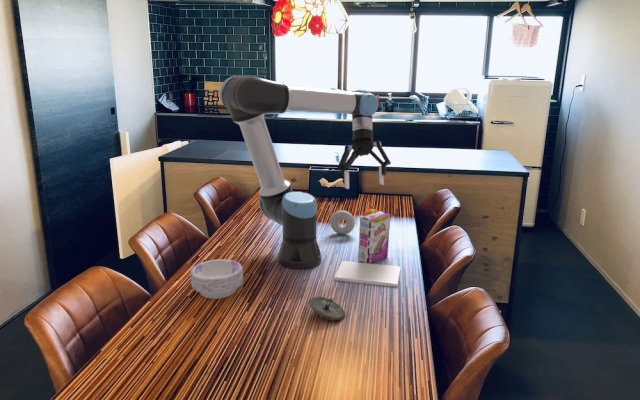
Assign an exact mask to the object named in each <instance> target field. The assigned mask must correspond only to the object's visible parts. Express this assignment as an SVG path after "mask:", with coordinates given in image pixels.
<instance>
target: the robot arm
mask: <svg viewBox="0 0 640 400" xmlns="http://www.w3.org/2000/svg"><path fill="white" fill-rule="evenodd" d="M219 98H220V101H221V102H220V103H221V104H222V105H223V106H224V108H226V109H227V110H229V115H230V117H231V120H232V122H233V123H235V124H237V125H239V128H240V131H241V133H242V137H243V139H244V143H245V145H246V147H247V151H248V153H249V156H250V159H251V161H252V165H253V167H254V171H255V174H256V176H257V179H258V182H259V185H260V188H259V190H258V194H259V198H258V204H259V209H260V212H261V213H262V214H263V215H264V216H265V217H266V218H268V219H269V220H271V221H273V222H275V223H277V224H278V225H280V226H282V241H281V244H280V246H279V250H278V253H277V263H278V264H279V265H280V266H282V267H284V268H288V269H292V270H303V269H304V270H305V269H310V268H314V267H315V268H316V267H317V266H318V265H320V264H321V263H322V252H321V251H320V247H319V244H318V241H317V229H318V228H317V220H318V219H317V215H318V213H317V212H318V207H317V206H318V205H317V200H316V198H315V196H314V195H312V194H310V193H307V192H302V191H293V189H292V186H291V182H290V181H289V180H287V179H285V178H284V174H283V172H282V169H281V165H280V163H279V159H278V156H277V154H276V150H275V147H274V145H273V140H272V138H271V136H270V133H269V129H268V126H267V123H266V119H265V115H266V114H285V113H286V112H287V111H289V112H291V111H292V112H311V113H325V114H326V113H327V114H330V113H331V114H349V115H351V118H352V131H353V132H352V145H348V144H345V145H344V151H343V154H342V156H341V159H340V161H339V163H338V165H337V167H336V169H337V170H338V171H339V172H341V173H342V174H341V179H342V180H343V181H344V189H346V190H350V171H348V170H349V169H350V168H351V166H352V165H353V164H354V162H355V161H356V160H357V158H358V157H363V156H368V155H371V156H372V157H373V158H374V159H375V160H376V161H377V162H378V163H379V164H380V165H379V166H378V178H379V179H378V181H379V182H378V183H379V184H380V185H381V186H384V185H385V182H384V180H385V176H386V174H387V166H388V165H389V166H390V165H391V160H390V158H389V157H388V155H387V153H386V151H385V150H384V148H383V145H382V141H380V140H379V139H377V140H376V141H374V135H373V133H374V132H373V131H374V130H373V127H374V126H373V115H374V114H375V113H376V112H377V111H378V109H379V99H378V97H377V96H376V95H375V94H373V93H371V92H370V91H369V90H367V89H357V90H355V91H349V90H343V89H340V88H334V87H331V88H329V89H323V88H312V87H300V86H292V85H291V86H290V85H289V86H288V84H287V83H286V82H283V81H282V82H281V81H274V80H269V79H266V78H262V77H258V76H252V75H251V76H250V75H244V74H238V75H233V76H230V77H228V78H227V79H225V80H224V81H223V82H222V85H221V87H220V89H219ZM374 148H376V149H377V150H378V151H379V154H380V155H381V157H382V158H383V160H384V161H383V160H382V159H381V158H380V157H379V156H378V155H377V154H376V153H375V152H374V151H373V149H374ZM352 150H353V151H352ZM351 151H352V152H351ZM350 153H351V155H350Z"/></svg>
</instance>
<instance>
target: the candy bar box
mask: <svg viewBox="0 0 640 400" xmlns="http://www.w3.org/2000/svg"><path fill="white" fill-rule="evenodd" d="M390 226H391V214H390V213H388V212H384V211H378V212H376V213H373V214H369V215H366V216H364V215H363V216H360V218H359V232H358V233H359V234H358V236H359V238H358V254H357V255H358V256H357V262H358V263H369V264H375V263H376V262H378V261H381V260H384V259H386V258H388V256H389V255H388V254H389V253H388V252H389V243H390V242H389V239H390V228H391V227H390Z"/></svg>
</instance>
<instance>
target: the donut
mask: <svg viewBox="0 0 640 400" xmlns="http://www.w3.org/2000/svg"><path fill="white" fill-rule="evenodd" d="M341 219H342V220H344V221H345V222H346V224H345V225H341V224H340V223H339V221H340V220H341ZM329 222H330V223H329V224H330V227H331V228H332V230H333V232H335V233H337V234H339V235H348V234H351V232H352V231H353V230H354V228H355V225H356V222H355V218H354V216H353V214H352V213H350V211H347V210H338V211H335V212H334V213H333V214H332V215H331V217H330V221H329Z"/></svg>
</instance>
